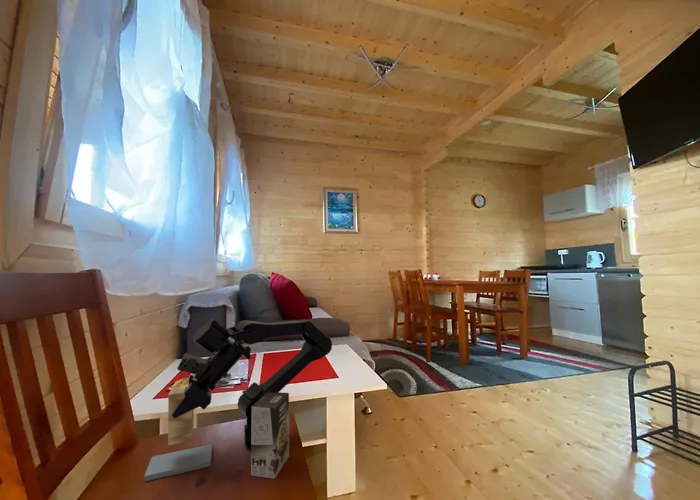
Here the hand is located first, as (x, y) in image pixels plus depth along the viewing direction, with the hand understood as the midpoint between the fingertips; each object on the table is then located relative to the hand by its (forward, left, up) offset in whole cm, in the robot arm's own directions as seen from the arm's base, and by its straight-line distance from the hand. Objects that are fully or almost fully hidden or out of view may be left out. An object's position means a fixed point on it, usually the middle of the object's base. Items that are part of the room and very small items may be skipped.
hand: (175, 412), depth 78 cm
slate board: (-1, 0, -13) cm, 13 cm away
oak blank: (-1, 0, -7) cm, 7 cm away
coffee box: (-22, +10, -13) cm, 28 cm away
